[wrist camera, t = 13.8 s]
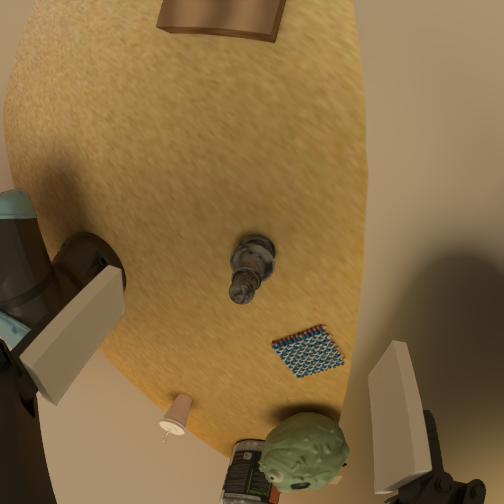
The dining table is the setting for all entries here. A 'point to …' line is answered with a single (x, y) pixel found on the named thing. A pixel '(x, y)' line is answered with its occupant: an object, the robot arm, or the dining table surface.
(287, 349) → the woven mat
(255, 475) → the supplement tub
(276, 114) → the dining table surface
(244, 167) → the dining table surface
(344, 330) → the dining table surface
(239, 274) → the salt shaker
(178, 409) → the smoothie
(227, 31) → the walnut base
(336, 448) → the green monster head
